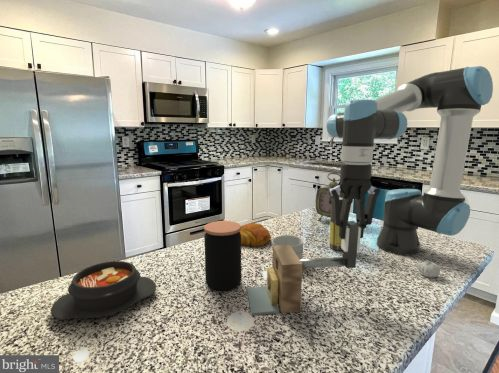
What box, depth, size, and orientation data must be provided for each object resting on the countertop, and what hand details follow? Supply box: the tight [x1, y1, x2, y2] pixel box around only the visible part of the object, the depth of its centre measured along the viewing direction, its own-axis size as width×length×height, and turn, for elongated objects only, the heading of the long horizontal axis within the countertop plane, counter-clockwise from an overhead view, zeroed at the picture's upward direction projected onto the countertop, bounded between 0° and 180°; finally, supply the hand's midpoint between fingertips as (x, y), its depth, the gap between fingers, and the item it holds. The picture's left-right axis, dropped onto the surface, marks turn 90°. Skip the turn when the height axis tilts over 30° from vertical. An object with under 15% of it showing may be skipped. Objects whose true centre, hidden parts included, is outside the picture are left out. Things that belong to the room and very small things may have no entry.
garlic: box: [417, 260, 441, 278], centre depth 91 cm, size 6×5×5 cm
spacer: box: [266, 267, 278, 306], centre depth 78 cm, size 2×7×7 cm, turn 7°
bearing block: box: [271, 245, 303, 314], centre depth 78 cm, size 5×12×13 cm, turn 7°
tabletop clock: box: [315, 172, 343, 221], centre depth 143 cm, size 14×9×25 cm, turn 50°
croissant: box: [240, 222, 272, 247], centre depth 120 cm, size 14×16×8 cm
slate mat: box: [246, 285, 280, 316], centre depth 78 cm, size 7×12×1 cm, turn 7°
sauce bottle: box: [328, 197, 343, 251], centre depth 111 cm, size 6×6×20 cm
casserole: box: [50, 260, 157, 321], centre depth 77 cm, size 25×19×8 cm
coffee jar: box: [203, 220, 242, 293], centre depth 85 cm, size 11×11×18 cm
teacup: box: [271, 233, 304, 259], centre depth 102 cm, size 14×11×8 cm
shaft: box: [300, 220, 359, 270], centre depth 77 cm, size 20×3×12 cm, turn 97°
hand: (349, 249), depth 78 cm, fingers closed on shaft, 2 cm apart
